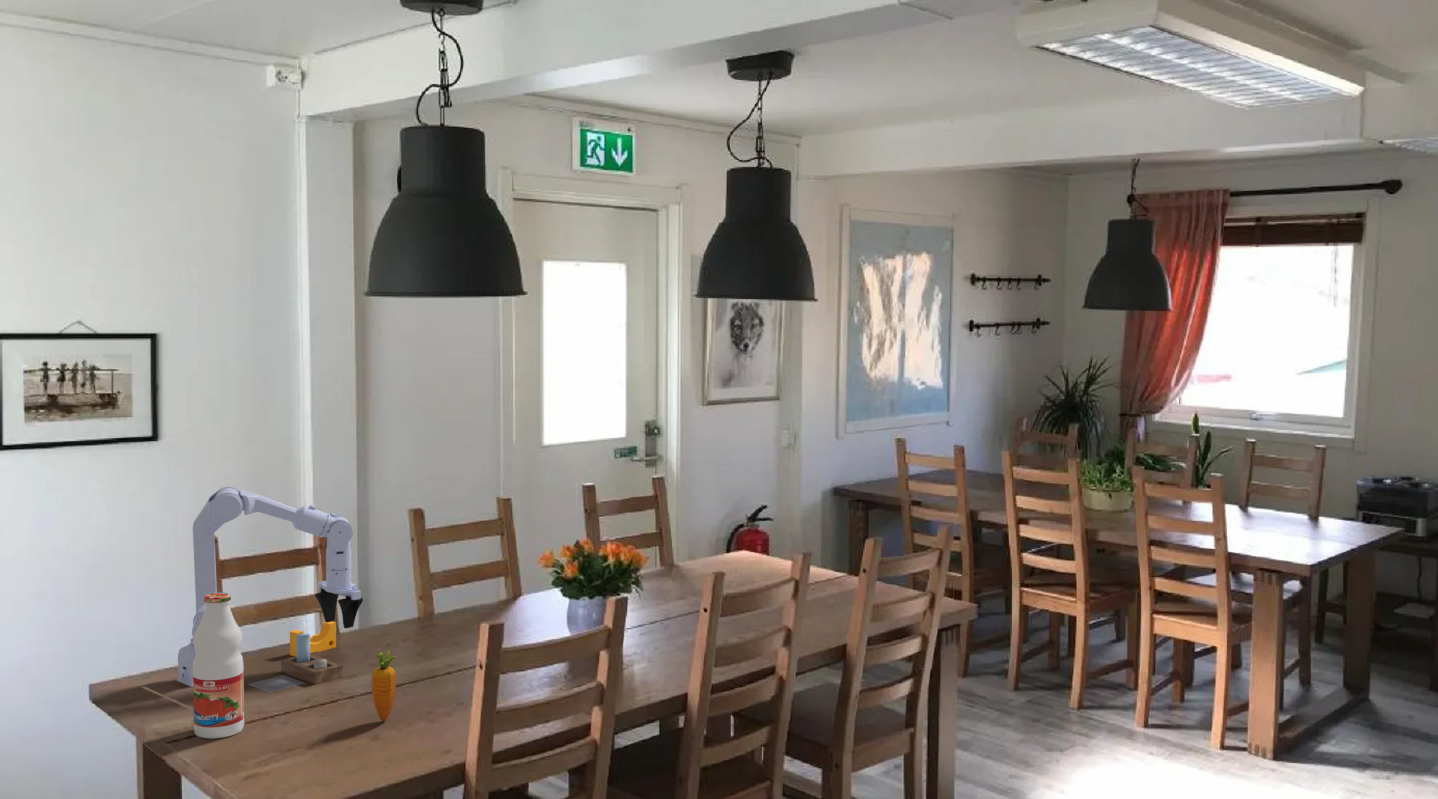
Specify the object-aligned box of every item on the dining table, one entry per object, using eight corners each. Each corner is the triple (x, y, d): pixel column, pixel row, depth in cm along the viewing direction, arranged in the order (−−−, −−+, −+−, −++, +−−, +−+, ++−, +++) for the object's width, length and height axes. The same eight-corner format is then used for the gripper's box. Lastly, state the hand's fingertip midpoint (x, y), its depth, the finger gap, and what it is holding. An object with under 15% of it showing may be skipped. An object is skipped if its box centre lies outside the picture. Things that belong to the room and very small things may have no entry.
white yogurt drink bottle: (252, 724, 241) (251, 590, 239) (229, 740, 232) (228, 601, 230) (209, 721, 242) (207, 588, 240) (184, 738, 233) (182, 599, 230)
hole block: (315, 686, 266) (315, 667, 265) (281, 673, 274) (281, 654, 274) (342, 678, 271) (342, 660, 271) (308, 666, 280) (308, 648, 279)
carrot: (386, 715, 248) (386, 646, 247) (401, 721, 245) (400, 650, 243) (366, 721, 244) (366, 651, 243) (380, 727, 241) (380, 655, 240)
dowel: (301, 675, 273) (301, 638, 272) (293, 673, 274) (293, 635, 274) (312, 672, 275) (312, 635, 274) (305, 670, 277) (304, 632, 276)
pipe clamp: (324, 644, 298) (324, 619, 298) (336, 647, 296) (336, 622, 295) (285, 656, 288) (284, 630, 287) (296, 659, 286) (296, 633, 285)
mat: (269, 694, 259) (269, 692, 259) (247, 685, 265) (247, 684, 265) (305, 684, 266) (305, 683, 266) (283, 676, 272) (283, 674, 272)
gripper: (371, 570, 276) (371, 626, 277) (335, 560, 285) (335, 615, 286) (345, 575, 271) (346, 632, 272) (309, 565, 280) (310, 621, 281)
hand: (339, 624), depth 279 cm, fingers open, 7 cm apart
